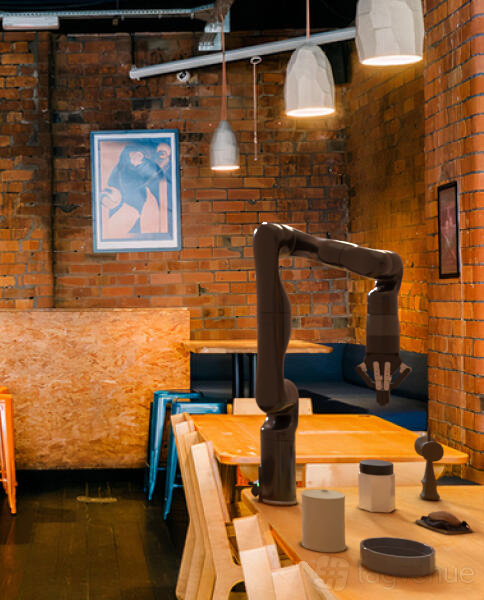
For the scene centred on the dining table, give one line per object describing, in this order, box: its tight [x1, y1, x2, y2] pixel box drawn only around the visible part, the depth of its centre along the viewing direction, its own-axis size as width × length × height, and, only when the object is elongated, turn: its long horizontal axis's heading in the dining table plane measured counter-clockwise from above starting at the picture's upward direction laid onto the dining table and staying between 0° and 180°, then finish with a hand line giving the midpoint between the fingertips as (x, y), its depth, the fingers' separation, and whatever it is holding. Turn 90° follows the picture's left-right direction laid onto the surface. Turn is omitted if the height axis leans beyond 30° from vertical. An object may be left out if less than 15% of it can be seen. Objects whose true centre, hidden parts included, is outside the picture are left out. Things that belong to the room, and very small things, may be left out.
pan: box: [359, 536, 437, 578], centre depth 161 cm, size 14×14×4 cm
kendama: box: [413, 425, 445, 501], centre depth 217 cm, size 6×10×20 cm, turn 165°
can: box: [300, 488, 347, 553], centre depth 175 cm, size 9×9×12 cm
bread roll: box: [415, 510, 473, 535], centre depth 189 cm, size 11×8×4 cm
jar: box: [357, 459, 396, 513], centre depth 207 cm, size 9×8×12 cm
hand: (383, 405), depth 190 cm, fingers closed
